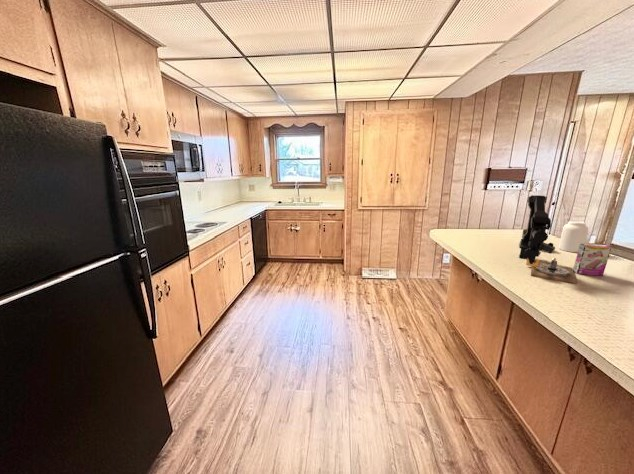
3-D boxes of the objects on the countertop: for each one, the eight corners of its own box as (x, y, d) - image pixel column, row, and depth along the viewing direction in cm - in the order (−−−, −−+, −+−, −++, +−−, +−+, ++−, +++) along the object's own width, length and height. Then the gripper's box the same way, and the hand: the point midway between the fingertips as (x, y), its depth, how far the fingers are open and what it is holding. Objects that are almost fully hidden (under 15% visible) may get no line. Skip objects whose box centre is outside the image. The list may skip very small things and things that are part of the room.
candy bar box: (577, 274, 145) (584, 245, 140) (572, 270, 149) (579, 242, 145) (603, 276, 141) (612, 247, 137) (597, 273, 146) (605, 244, 141)
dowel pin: (550, 267, 155) (552, 258, 153) (550, 266, 156) (552, 257, 154) (554, 267, 154) (556, 259, 152) (553, 267, 155) (556, 258, 154)
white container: (585, 253, 176) (592, 224, 171) (560, 251, 182) (567, 222, 177) (579, 248, 186) (587, 220, 181) (556, 246, 193) (562, 219, 187)
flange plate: (572, 272, 144) (574, 264, 143) (562, 277, 138) (564, 270, 137) (531, 262, 160) (533, 255, 158) (521, 266, 153) (522, 259, 152)
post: (549, 273, 147) (551, 261, 145) (548, 271, 148) (551, 260, 147) (554, 274, 145) (557, 262, 143) (554, 272, 147) (557, 261, 145)
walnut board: (530, 275, 144) (531, 274, 144) (531, 262, 162) (531, 261, 162) (576, 284, 133) (577, 282, 133) (571, 269, 151) (571, 267, 151)
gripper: (553, 243, 136) (547, 272, 140) (557, 237, 149) (551, 263, 153) (526, 239, 144) (521, 266, 148) (532, 233, 157) (527, 258, 161)
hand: (531, 264), depth 152 cm, fingers closed
